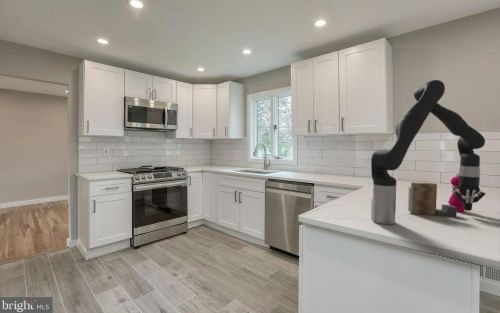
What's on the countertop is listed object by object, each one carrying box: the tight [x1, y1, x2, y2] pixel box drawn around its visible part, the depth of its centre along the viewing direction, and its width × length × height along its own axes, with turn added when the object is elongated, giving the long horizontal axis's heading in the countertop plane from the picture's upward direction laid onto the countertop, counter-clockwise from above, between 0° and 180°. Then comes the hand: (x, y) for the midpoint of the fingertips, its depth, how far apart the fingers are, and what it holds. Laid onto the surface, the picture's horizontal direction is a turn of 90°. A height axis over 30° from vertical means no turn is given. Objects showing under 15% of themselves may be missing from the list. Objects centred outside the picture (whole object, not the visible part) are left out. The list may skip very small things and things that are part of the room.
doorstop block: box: [436, 204, 458, 218], centre depth 121 cm, size 8×5×5 cm, turn 75°
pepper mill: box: [447, 173, 466, 213], centre depth 128 cm, size 7×7×20 cm
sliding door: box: [407, 186, 413, 212], centre depth 123 cm, size 12×1×12 cm, turn 75°
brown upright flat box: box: [409, 181, 438, 217], centre depth 123 cm, size 10×4×16 cm, turn 75°
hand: (467, 210), depth 118 cm, fingers closed
